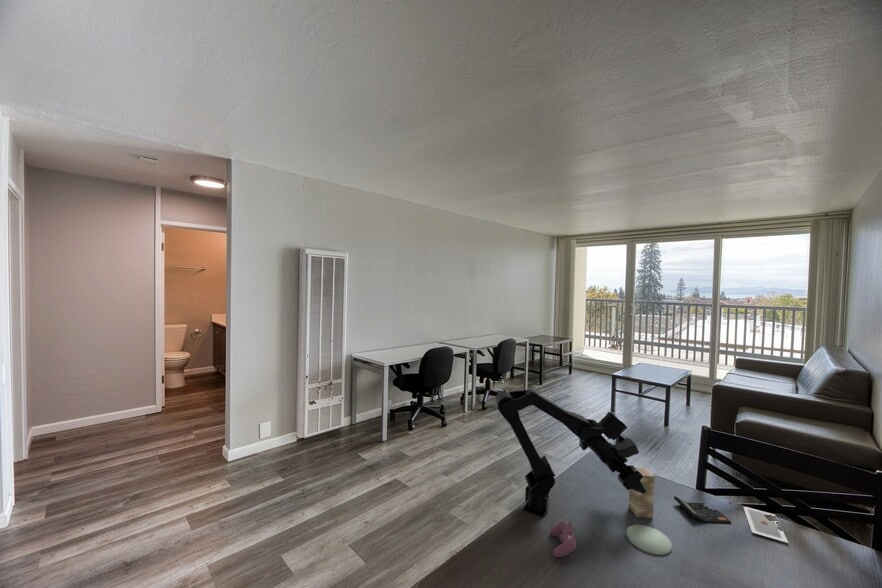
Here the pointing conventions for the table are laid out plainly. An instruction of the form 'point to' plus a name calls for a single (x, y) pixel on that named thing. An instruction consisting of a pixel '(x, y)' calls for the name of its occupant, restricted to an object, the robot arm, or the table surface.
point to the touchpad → (763, 524)
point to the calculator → (703, 512)
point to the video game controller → (564, 538)
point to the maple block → (643, 496)
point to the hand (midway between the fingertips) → (637, 484)
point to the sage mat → (649, 539)
